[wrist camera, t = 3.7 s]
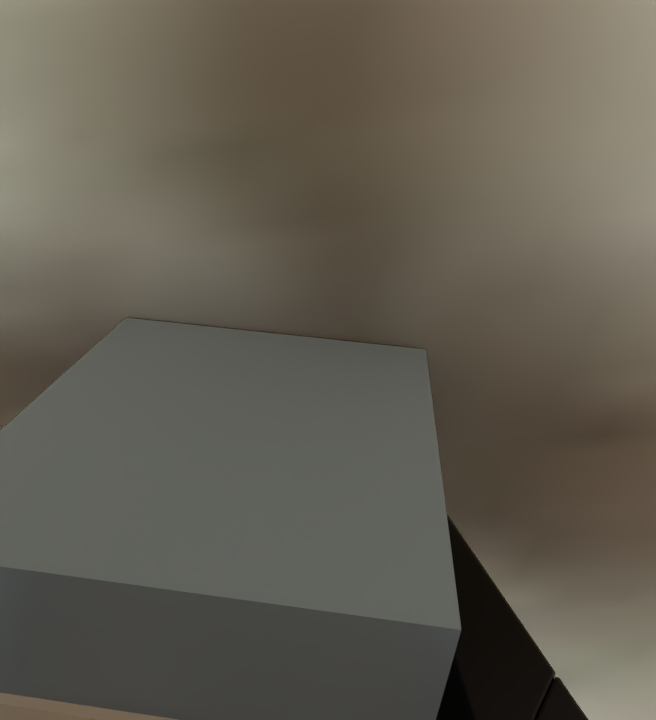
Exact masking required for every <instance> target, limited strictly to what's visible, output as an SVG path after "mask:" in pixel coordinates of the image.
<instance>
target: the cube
mask: <svg viewBox="0 0 656 720" xmlns="http://www.w3.org/2000/svg"><path fill="white" fill-rule="evenodd" d="M460 633H461V623H460V615H459V607H458V599H457V591H456V583H455V575H454V567H453V559H452V552H451V544H450V536H449V528H448V520H447V512H446V504H445V496H444V488H443V481H442V473H441V465H440V457H439V449H438V441H437V433H436V425H435V417H434V409H433V402H432V394H431V386H430V378H429V370H428V362H427V354H426V349H417V348H408V347H398V346H389V345H379V344H370V343H360V342H351V341H342V340H332V339H323V338H313V337H304V336H294V335H285V334H276V333H266V332H257V331H247V330H238V329H228V328H219V327H209V326H200V325H191V324H181V323H172V322H162V321H153V320H143V319H134V318H125V319H124V320H123V321H121V322H120V323H119V324H118V325H117V326H116V327H115V328H114V329H113V330H111V331H110V332H109V333H108V334H107V335H106V336H105V337H104V338H103V339H101V340H100V341H99V342H98V343H97V344H96V345H95V346H94V347H93V348H91V349H90V350H89V351H88V352H87V353H86V354H85V355H84V356H82V357H81V358H80V359H79V360H78V361H77V362H76V363H75V364H74V365H72V366H71V367H70V368H69V369H68V370H67V371H66V372H65V373H64V374H62V375H61V376H60V377H59V378H58V379H57V380H56V381H55V382H54V383H52V384H51V385H50V386H49V387H48V388H47V389H46V390H45V391H43V392H42V393H41V394H40V395H39V396H38V397H37V398H36V399H35V400H33V401H32V402H31V403H30V404H29V405H28V406H27V407H26V408H25V409H23V410H22V411H21V412H20V413H19V414H18V415H17V416H16V417H15V418H13V419H12V420H11V421H10V422H9V423H8V424H7V425H6V426H5V427H3V428H2V429H1V430H0V720H436V717H437V714H438V710H439V707H440V703H441V700H442V696H443V693H444V689H445V686H446V682H447V679H448V675H449V672H450V668H451V665H452V661H453V658H454V654H455V651H456V647H457V644H458V640H459V637H460Z"/></svg>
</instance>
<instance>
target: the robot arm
mask: <svg viewBox="0 0 656 720" xmlns="http://www.w3.org/2000/svg"><path fill="white" fill-rule="evenodd" d="M447 520H448V528H449V536H450V544H451V552H452V559H453V567H454V575H455V583H456V591H457V599H458V607H459V615H460V623H461V633H460V637H459V640H458V644H457V647H456V651H455V654H454V658H453V661H452V665H451V668H450V672H449V675H448V679H447V682H446V686H445V689H444V693H443V696H442V700H441V703H440V707H439V710H438V714H437V717H436V720H588V718H587V717H586V715H585V714H584V713H583V711H582V710H581V709H580V707H579V706H578V704H577V703H576V701H575V700H574V699H573V697H572V696H571V694H570V693H569V691H568V690H567V688H566V687H565V685H564V684H563V682H562V681H561V680H560V678H558V677H555V671H554V670H553V668H552V667H551V665H550V664H549V662H548V661H547V659H546V658H545V657H544V655H543V654H542V652H541V651H540V649H539V648H538V646H537V645H536V643H535V642H534V640H533V639H532V638H531V636H530V635H529V633H528V632H527V630H526V629H525V627H524V626H523V624H522V623H521V621H520V620H519V619H518V617H517V616H516V614H515V613H514V611H513V610H512V608H511V607H510V605H509V604H508V602H507V601H506V600H505V598H504V597H503V595H502V594H501V592H500V591H499V589H498V588H497V586H496V585H495V584H494V582H493V581H492V579H491V578H490V576H489V575H488V573H487V572H486V570H485V569H484V567H483V566H482V565H481V563H480V562H479V560H478V559H477V557H476V556H475V554H474V553H473V551H472V550H471V548H470V547H469V546H468V544H467V543H466V541H465V540H464V538H463V537H462V535H461V534H460V532H459V531H458V529H457V528H456V527H455V525H454V524H453V522H452V521H451V519H450V518H449V516H448V515H447ZM554 677H555V678H554Z"/></svg>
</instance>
